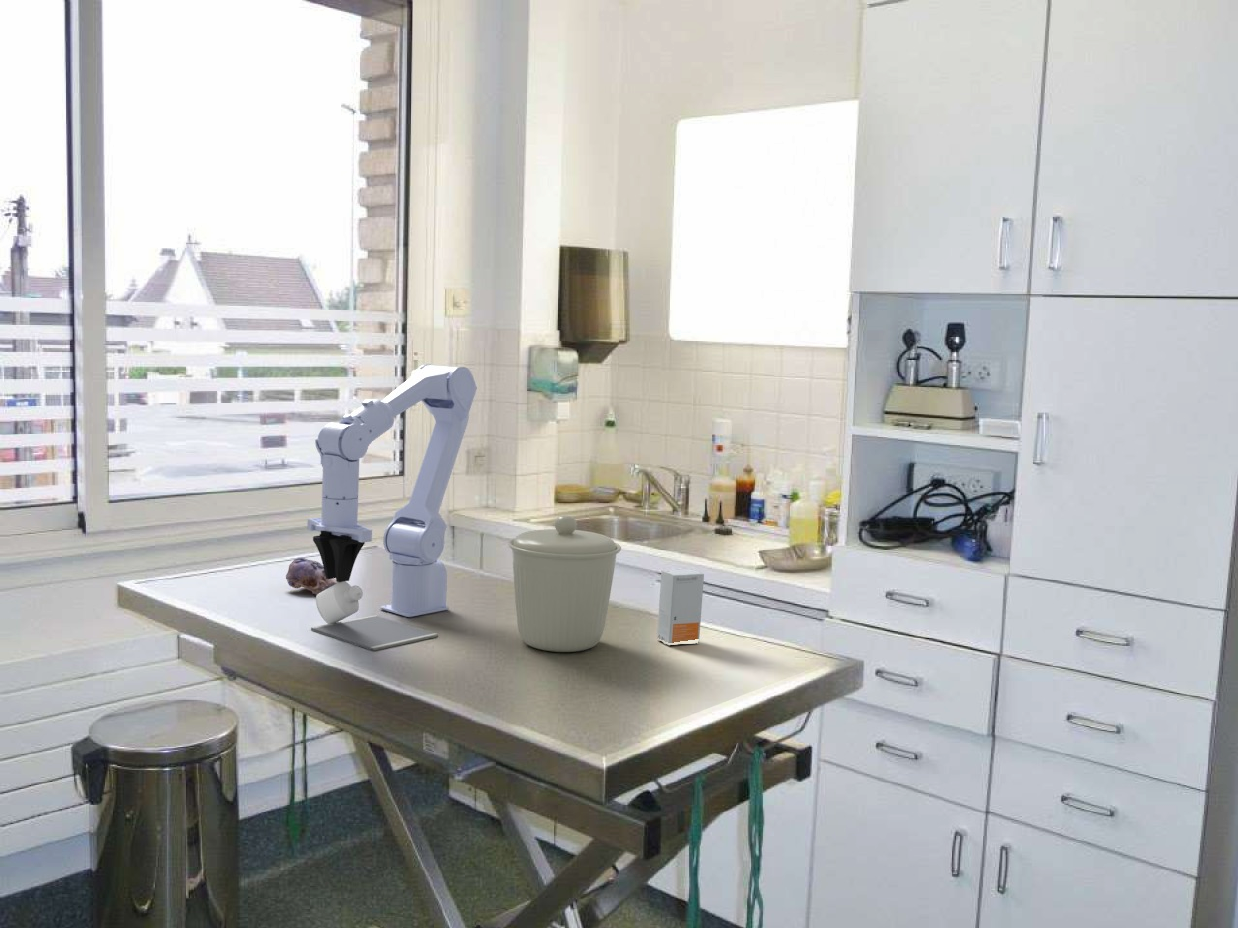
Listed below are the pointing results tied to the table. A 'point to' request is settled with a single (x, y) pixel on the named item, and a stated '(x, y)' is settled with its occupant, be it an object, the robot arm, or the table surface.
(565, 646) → the canister
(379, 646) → the mat
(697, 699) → the table surface
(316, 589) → the skull
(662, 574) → the skincare box
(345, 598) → the eye dropper bottle
